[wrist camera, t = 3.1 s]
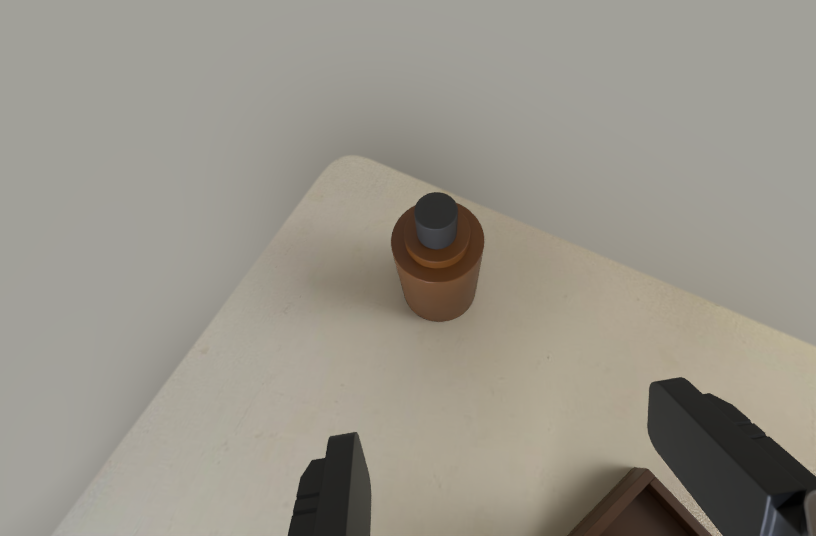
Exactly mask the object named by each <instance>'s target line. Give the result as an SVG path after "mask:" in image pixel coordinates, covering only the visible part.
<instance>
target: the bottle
mask: <svg viewBox="0 0 816 536" xmlns="http://www.w3.org/2000/svg"><path fill="white" fill-rule="evenodd" d="M391 247H392V252H393V256H394V259H395V263H396V267H397V270H398V274H399V278H400V281H401V285H402V288H403V292H404V296H405V299H406V301H407V303H408V305H409V307H410V308H411V309H412V310H413V311H414V312H415V313H416V314H417V315H419V316H420V317H422V318H424V319H427V320H431V321H437V322H443V321H449V320H452V319H455V318H457V317H459V316H460V315H462V314H463V313H464V312H465V311H466V310H467V309H468V308H469V307H470V305H471V304H472V302H473V299H474V297H475V292H476V287H477V281H478V276H479V270H480V265H481V260H482V254H483V249H484V234H483V230H482V227H481V225H480V223H479V221H478V219H477V218H476V217H475V216H474V215H473V214H472V213H471V212H470V211H469V210H468V209H467V208H465V207H463V206H462V205H460V204H457V203H456V202H455V201H454V200H453V199H452V198H451V197H450V196H448V195H446V194H444V193H438V192H434V193H429V194H427V195H425V196H423V197H422V198H421V199H419V201H418V202H417V203H416V205H415V206H413V207H411V208H410V209H409V210H407V211H406V212H405V213H404V214H403V215H402V216H401V217H400V218H399V220H398V221H397V223H396V225H395V227H394V229H393V232H392V237H391Z"/></svg>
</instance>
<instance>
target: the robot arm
mask: <svg viewBox="0 0 816 536" xmlns="http://www.w3.org/2000/svg"><path fill="white" fill-rule="evenodd" d="M647 428H648V434H649V437H650V440H651V442H652V444H653V446H654V448H655V450H656V451H657V452H658V454H659V455H660V456H661V457H662V459H663V460H664V461H665V463H666V464H667V465H668V466H669V468H670V469H671V470H672V471H673V473H674V474H675V475H676V477H677V478H678V479H679V480H680V482H681V483H682V484H683V486H684V487H685V488H686V489H687V491H688V492H689V493H690V494H691V496H692V497H693V498H694V500H695V501H696V502H697V503H698V505H699V506H700V507H701V508H702V510H703V511H704V512H705V514H706V515H707V516H708V517H709V519H710V520H711V521H712V523H713V524H714V525H715V526H716V528H717V529H718V530H719V531H720V533H721V534H722V535H723V536H816V477H815V476H814V475H813V474H812V473H811V472H810V471H809V470H807V469H806V468H805V467H804V466H803V465H802V464H800V463H799V462H798V461H797V460H796V459H795V458H794V457H792V456H791V455H790V454H789V453H788V452H787V451H785V450H784V449H783V448H782V447H781V446H780V445H778V444H777V443H776V442H775V441H774V440H773V439H772V438H770V437H767V436H766V434H765V432H763V431H762V430H761V429H760V428H759V427H758V426H757V425H755V424H754V423H753V424H752V423H751V420H750V419H748V418H747V417H746V416H745V415H744V414H743V413H741V412H740V411H739V410H738V409H737V408H736V407H735V406H733V405H732V404H730V403H728V402H726V401H724V400H722V399H720V398H718V397H716V396H714V395H712V394H710V393H708V394H702V393H701V392H700V391H699V390H698V389H697V388H696V387H694V386H693V385H692V384H691V383H690V382H689V381H688V380H686V379H685V378H682V377H679V378H673V379H667V380H661V381H655V382H652V383H651V384H650V387H649V404H648V423H647ZM296 497H297V500H296V501H295V505H294V510H293V516H292V519H291V523H290V528H289V532H288V536H370V525H371V484H370V477H369V472H368V468H367V465H366V461H365V457H364V453H363V450H362V446H361V442H360V439H359V435H358V433H357V432H353V433H347V434H341V435H335V436H330V437H329V439H328V445H327V451H326V457H325V458H322V459H316V460H312V461H311V462H310V464H309V465H308V467H307V469H306V470H305V472H304V473H303V475H302V476H301V478H300V483H299V487H298V492H297V496H296Z"/></svg>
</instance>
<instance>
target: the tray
mask: <svg viewBox="0 0 816 536" xmlns="http://www.w3.org/2000/svg"><path fill="white" fill-rule="evenodd" d="M567 536H712V535H711V534H710V533H709V532H708V531H707V530H706V529H705V528H704V527H703V526H702V525H701V524H700V523H699V521H698V520H697V519H696V518H695V517H694V516H693V515H692V514H691V513H690V512H689V511H688V510H687V509H686V508H685V507H684V506H683V505H682V504H681V503H680V502H679V501H678V500H677V499H676V497H675V496H674V495H673V494H672V493H671V492H670V491H669V490H668V489H667V488H666V487H665V486H664V485H663V484H662V483H661V482H660V481H659V480H658V479H657V478H656V477H655V476H654V475H653V473H652V472H651V471H650V470H649V469H647V468H637V467H634V468H633V469H632V470H631V471H630V472H629V473H628V474H627V475H626V476H625V477H624V478H623V479H622V480H621V481H620V482H619V483H618V484H617V485H616V486H615V487H614V488H613V489H612V490H611V491H610V492H609V493H608V494H607V495H606V496H605V497H604V498H603V499H602V500H601V501H600V503H599V504H598V505H597V506H596V507H595V508H594V509H593V510H592V511H591V512H590V513H589V514H588V515H587V516H586V517H585V518H584V519H583V520H582V521H581V522H580V523H579V524H578V525H577V526H576V527H575V528H574V529H573V530H572V531H571V532H570V533H569V534H568V535H567Z"/></svg>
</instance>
